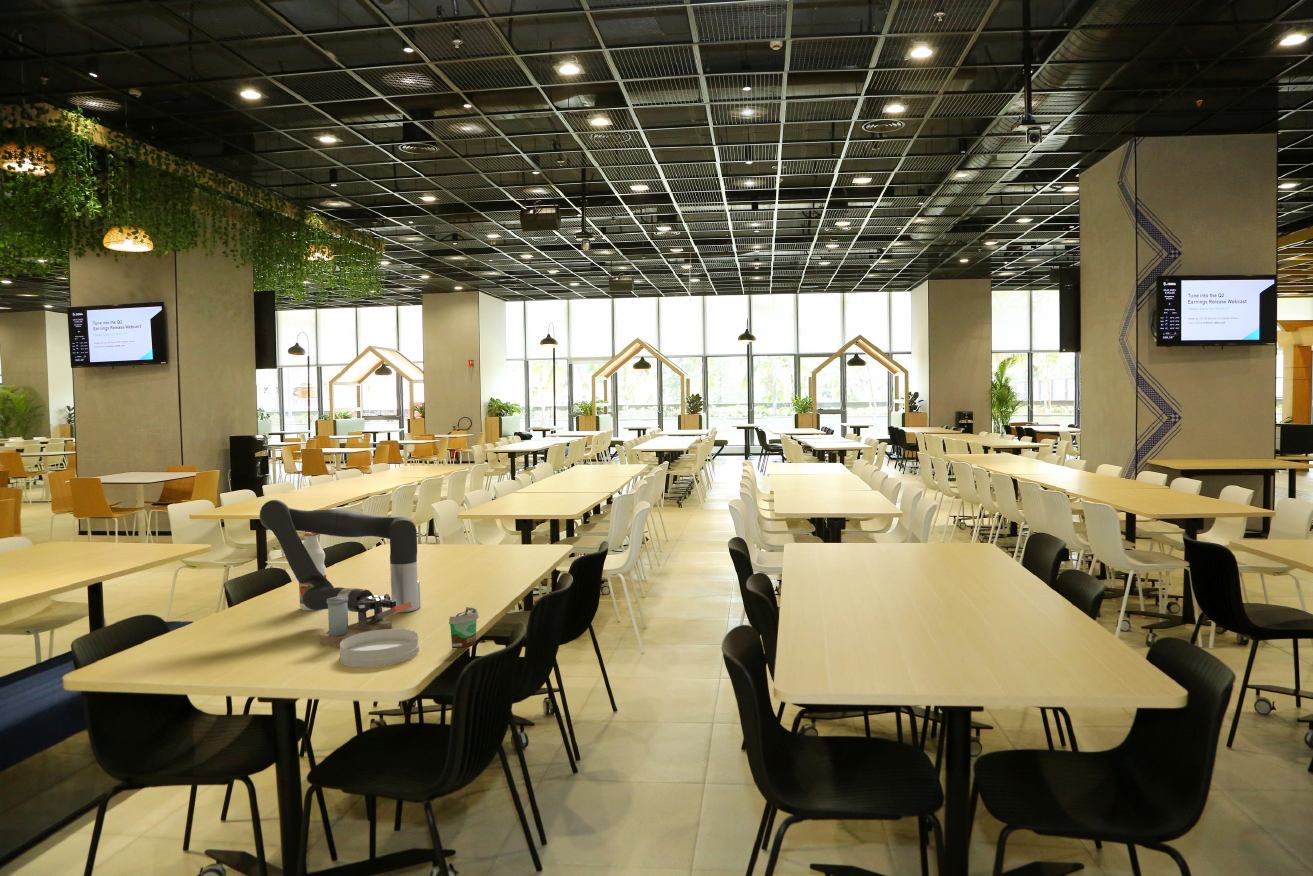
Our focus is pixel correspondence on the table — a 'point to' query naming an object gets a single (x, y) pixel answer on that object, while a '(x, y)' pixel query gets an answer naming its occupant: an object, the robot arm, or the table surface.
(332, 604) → the grey canister
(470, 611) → the food container
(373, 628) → the housing
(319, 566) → the fruit juice
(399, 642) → the dish
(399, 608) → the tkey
